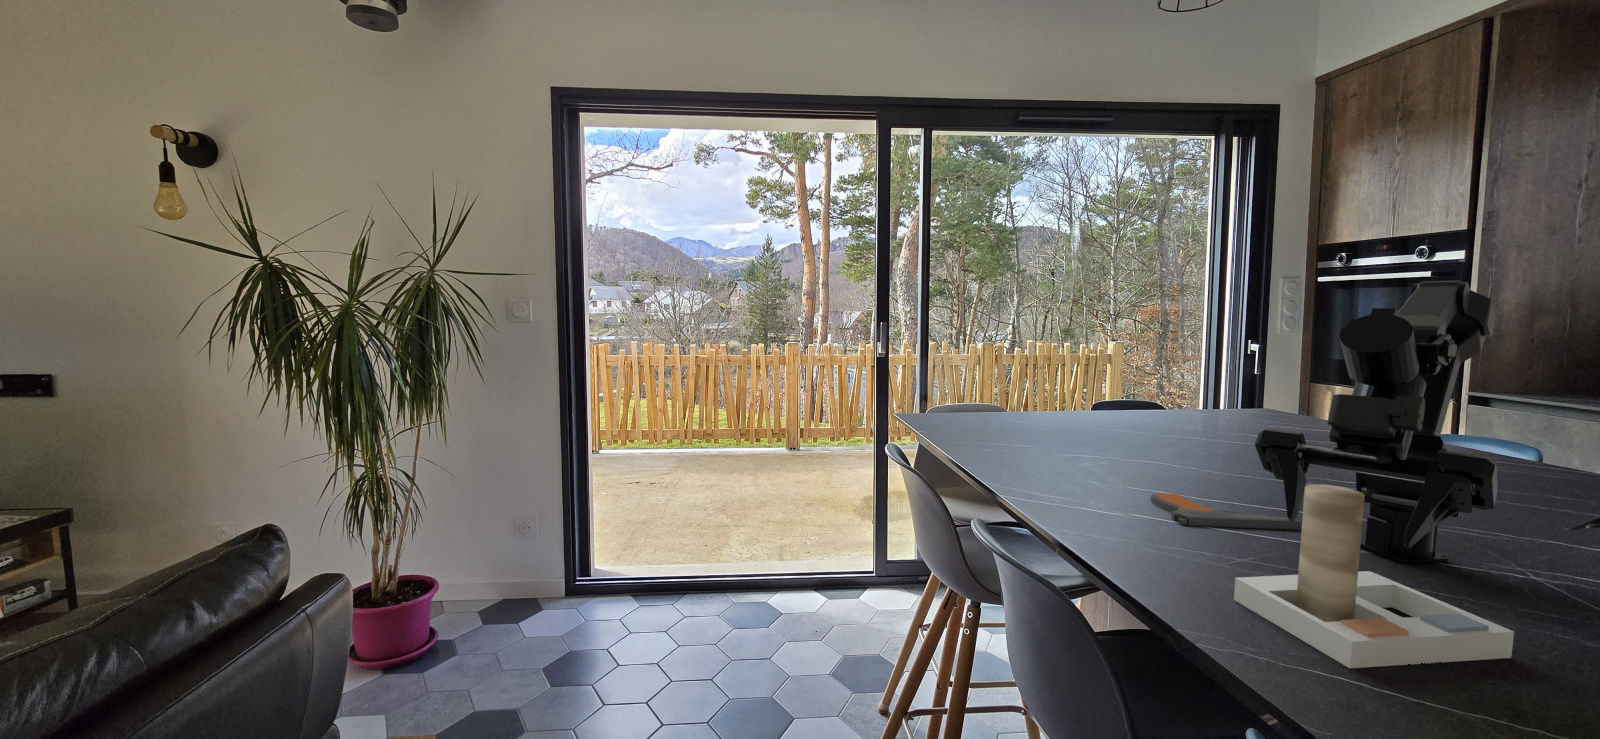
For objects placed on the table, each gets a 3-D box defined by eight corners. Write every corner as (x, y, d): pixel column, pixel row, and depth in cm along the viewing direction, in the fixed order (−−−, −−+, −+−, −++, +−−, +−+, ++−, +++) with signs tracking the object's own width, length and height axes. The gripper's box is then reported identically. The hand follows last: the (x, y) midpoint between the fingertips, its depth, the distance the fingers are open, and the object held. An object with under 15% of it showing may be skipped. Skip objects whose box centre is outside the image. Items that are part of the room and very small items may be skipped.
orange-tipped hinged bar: (1252, 506, 100) (1300, 533, 88) (1147, 503, 102) (1181, 529, 90) (1252, 496, 100) (1301, 521, 88) (1147, 492, 102) (1181, 517, 90)
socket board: (1367, 592, 69) (1369, 567, 69) (1511, 657, 56) (1514, 627, 56) (1233, 599, 67) (1235, 574, 67) (1349, 668, 55) (1352, 637, 54)
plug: (1301, 612, 64) (1311, 481, 63) (1357, 629, 61) (1369, 491, 60) (1288, 626, 62) (1299, 490, 60) (1346, 645, 58) (1358, 501, 57)
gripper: (1265, 360, 72) (1222, 468, 67) (1505, 373, 57) (1474, 513, 52) (1284, 418, 78) (1245, 522, 73) (1508, 443, 63) (1480, 577, 58)
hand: (1345, 531), depth 64 cm, fingers open, 9 cm apart
